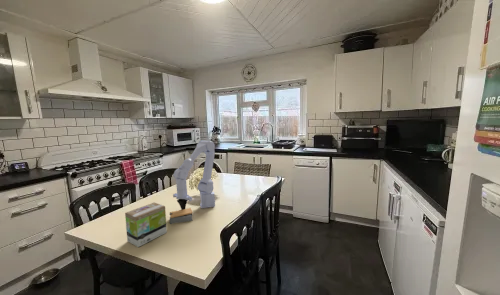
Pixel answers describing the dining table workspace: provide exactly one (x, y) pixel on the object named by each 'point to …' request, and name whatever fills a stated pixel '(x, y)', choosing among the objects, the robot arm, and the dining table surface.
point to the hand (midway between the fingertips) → (183, 210)
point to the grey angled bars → (181, 219)
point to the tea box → (145, 223)
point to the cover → (180, 212)
